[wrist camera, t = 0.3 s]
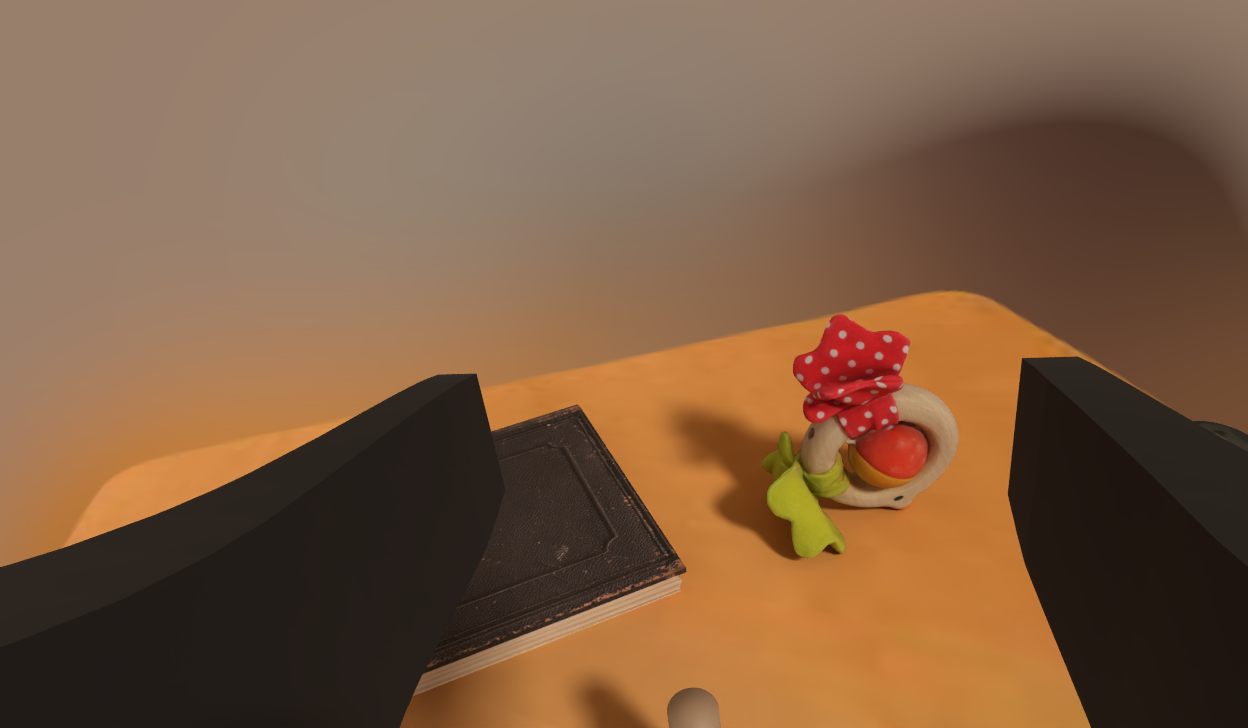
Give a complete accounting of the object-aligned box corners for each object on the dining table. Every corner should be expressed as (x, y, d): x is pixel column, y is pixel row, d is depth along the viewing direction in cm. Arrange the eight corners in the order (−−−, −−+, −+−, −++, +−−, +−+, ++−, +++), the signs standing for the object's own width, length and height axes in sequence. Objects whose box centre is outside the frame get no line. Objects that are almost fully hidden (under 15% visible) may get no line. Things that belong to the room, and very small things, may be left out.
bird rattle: (867, 497, 43) (716, 474, 41) (962, 319, 38) (797, 281, 36) (922, 579, 38) (751, 558, 35) (1040, 385, 33) (852, 345, 30)
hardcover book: (690, 603, 36) (685, 566, 35) (153, 817, 30) (127, 782, 29) (581, 429, 49) (575, 399, 48) (193, 555, 44) (176, 524, 42)
